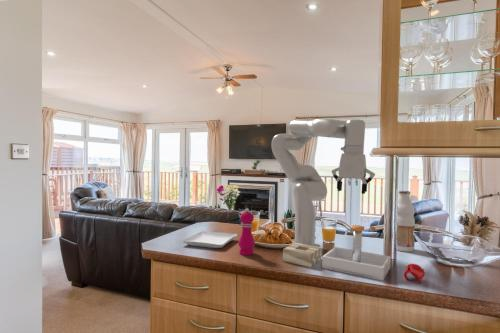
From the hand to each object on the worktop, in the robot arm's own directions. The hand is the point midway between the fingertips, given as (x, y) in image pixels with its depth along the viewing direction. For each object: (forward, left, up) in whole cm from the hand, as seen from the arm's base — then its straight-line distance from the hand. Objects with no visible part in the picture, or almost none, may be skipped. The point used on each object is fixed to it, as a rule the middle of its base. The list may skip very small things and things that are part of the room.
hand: (351, 192), depth 124 cm
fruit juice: (-35, +16, -29) cm, 48 cm away
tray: (+5, +4, -29) cm, 30 cm away
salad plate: (+11, -65, -30) cm, 72 cm away
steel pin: (+5, +4, -28) cm, 29 cm away
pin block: (+9, -17, -29) cm, 35 cm away
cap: (+6, +24, -29) cm, 38 cm away
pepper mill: (+15, -41, -29) cm, 53 cm away
